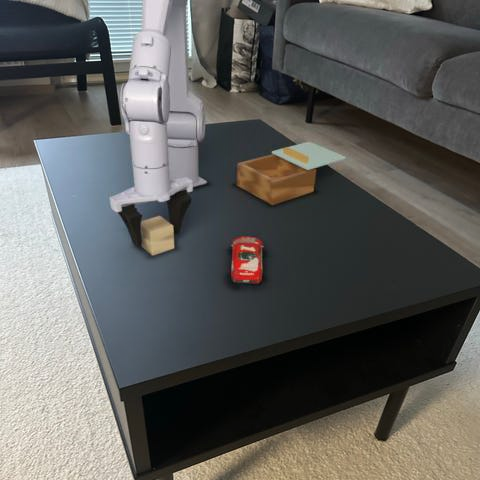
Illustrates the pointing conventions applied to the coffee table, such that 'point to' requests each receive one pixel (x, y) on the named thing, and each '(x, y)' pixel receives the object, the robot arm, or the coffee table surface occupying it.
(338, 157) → the lid with orange handle
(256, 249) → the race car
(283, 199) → the case
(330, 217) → the coffee table surface
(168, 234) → the block
